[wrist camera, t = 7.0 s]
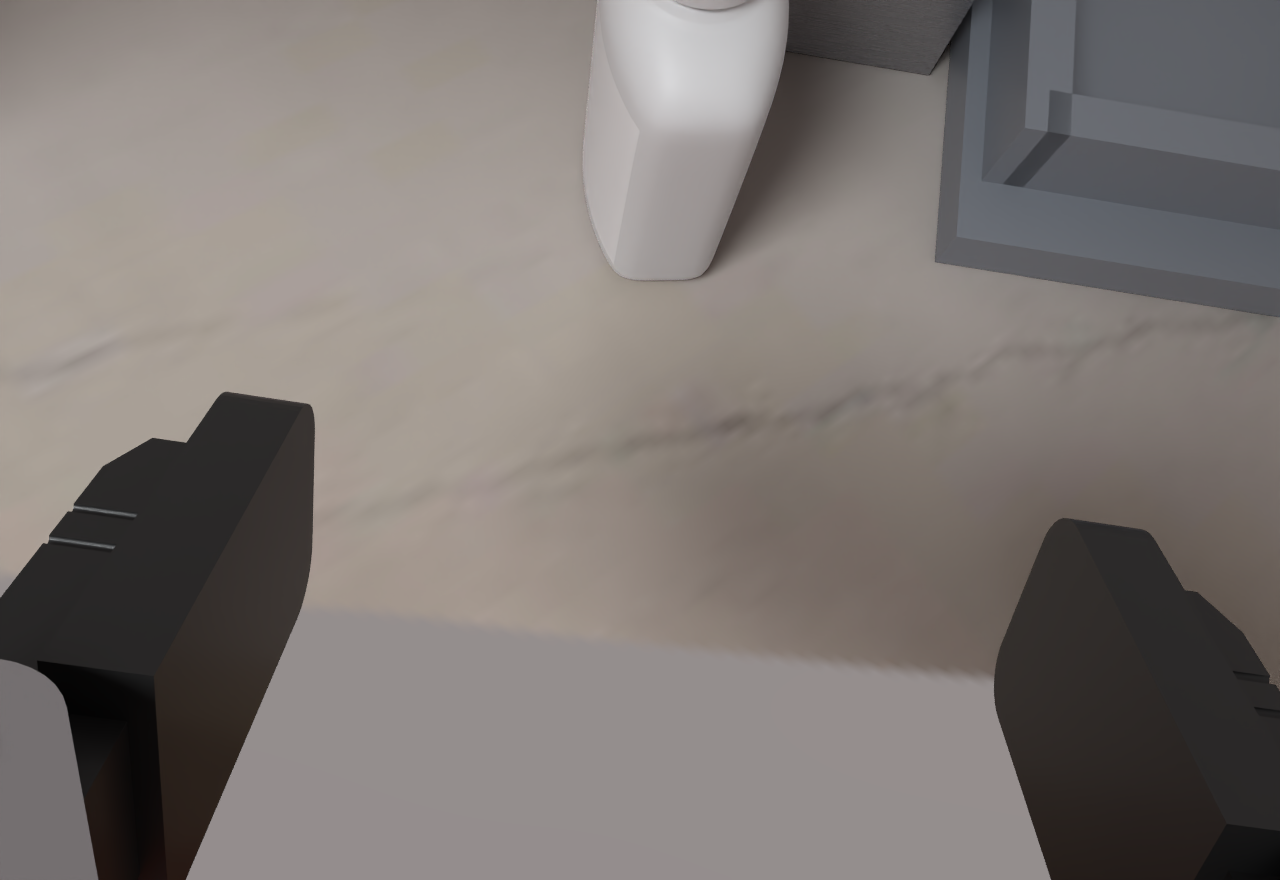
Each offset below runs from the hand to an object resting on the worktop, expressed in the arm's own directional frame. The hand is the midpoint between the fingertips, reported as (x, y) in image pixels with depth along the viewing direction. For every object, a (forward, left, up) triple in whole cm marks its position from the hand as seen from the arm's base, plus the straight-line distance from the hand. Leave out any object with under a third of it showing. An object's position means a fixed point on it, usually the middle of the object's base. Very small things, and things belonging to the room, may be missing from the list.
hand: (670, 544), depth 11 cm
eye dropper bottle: (0, +11, -16) cm, 19 cm away
